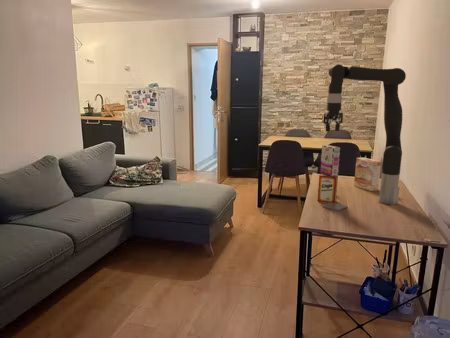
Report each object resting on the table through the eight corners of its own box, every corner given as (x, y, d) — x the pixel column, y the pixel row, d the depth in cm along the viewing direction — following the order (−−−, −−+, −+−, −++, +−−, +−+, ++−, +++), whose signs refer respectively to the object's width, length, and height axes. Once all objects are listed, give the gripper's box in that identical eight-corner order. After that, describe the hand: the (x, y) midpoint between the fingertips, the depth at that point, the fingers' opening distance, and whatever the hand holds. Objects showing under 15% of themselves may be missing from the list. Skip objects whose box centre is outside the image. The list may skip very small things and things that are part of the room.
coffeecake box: (353, 185, 241) (355, 157, 237) (361, 184, 244) (363, 157, 240) (370, 191, 228) (373, 161, 224) (378, 190, 231) (381, 160, 227)
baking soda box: (317, 201, 205) (319, 174, 202) (319, 198, 211) (321, 172, 208) (334, 203, 201) (336, 176, 198) (336, 200, 207) (338, 174, 204)
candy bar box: (338, 176, 198) (341, 147, 195) (331, 176, 197) (333, 147, 193) (326, 172, 209) (328, 144, 205) (319, 172, 207) (321, 145, 204)
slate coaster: (347, 207, 195) (347, 205, 195) (339, 211, 188) (339, 209, 188) (330, 203, 202) (330, 201, 201) (322, 207, 195) (322, 205, 194)
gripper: (332, 102, 188) (330, 132, 191) (348, 102, 196) (345, 131, 200) (320, 102, 194) (319, 131, 197) (336, 101, 202) (334, 130, 206)
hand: (332, 131), depth 198 cm, fingers open, 8 cm apart
